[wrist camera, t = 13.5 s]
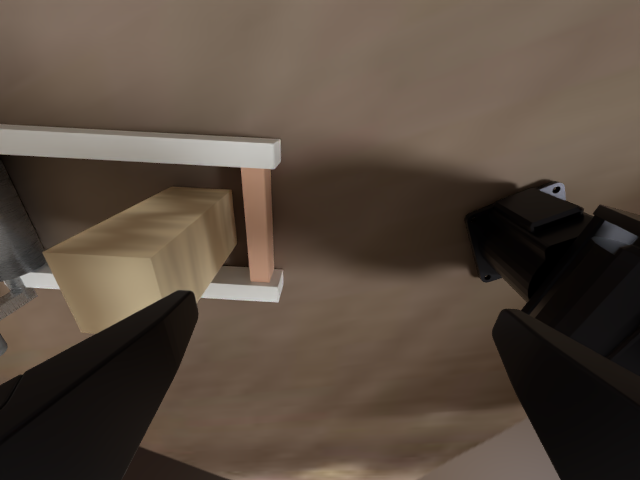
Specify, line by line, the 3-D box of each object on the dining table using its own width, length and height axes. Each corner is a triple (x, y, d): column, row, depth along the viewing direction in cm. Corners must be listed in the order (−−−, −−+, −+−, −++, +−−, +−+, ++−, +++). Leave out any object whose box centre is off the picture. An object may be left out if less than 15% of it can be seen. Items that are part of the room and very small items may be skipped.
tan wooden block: (231, 189, 20) (150, 258, 11) (237, 243, 22) (173, 338, 13) (171, 186, 20) (42, 252, 11) (182, 240, 22) (81, 332, 13)
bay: (280, 122, 18) (255, 131, 12) (283, 318, 25) (270, 381, 19) (-65, 104, 18) (-256, 104, 12) (42, 303, 26) (-42, 361, 20)
